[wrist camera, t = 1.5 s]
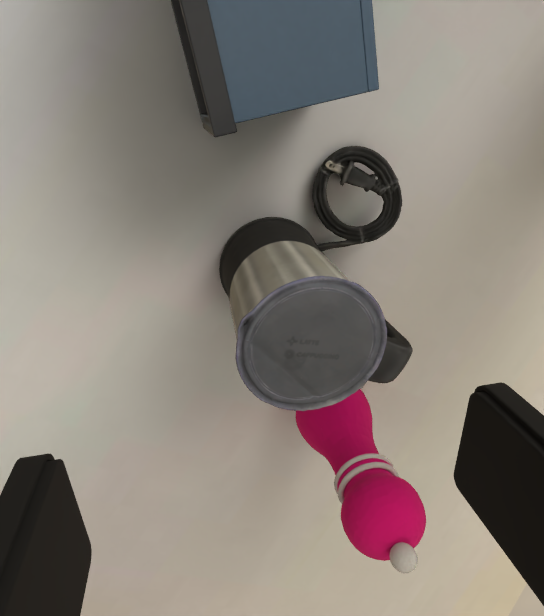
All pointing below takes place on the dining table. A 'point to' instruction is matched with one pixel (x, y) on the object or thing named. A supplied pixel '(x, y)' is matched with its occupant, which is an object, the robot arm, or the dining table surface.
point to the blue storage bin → (274, 55)
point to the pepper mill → (366, 483)
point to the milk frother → (312, 299)
